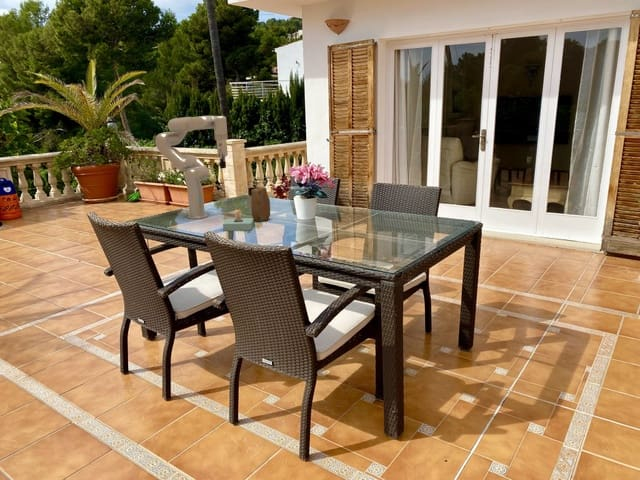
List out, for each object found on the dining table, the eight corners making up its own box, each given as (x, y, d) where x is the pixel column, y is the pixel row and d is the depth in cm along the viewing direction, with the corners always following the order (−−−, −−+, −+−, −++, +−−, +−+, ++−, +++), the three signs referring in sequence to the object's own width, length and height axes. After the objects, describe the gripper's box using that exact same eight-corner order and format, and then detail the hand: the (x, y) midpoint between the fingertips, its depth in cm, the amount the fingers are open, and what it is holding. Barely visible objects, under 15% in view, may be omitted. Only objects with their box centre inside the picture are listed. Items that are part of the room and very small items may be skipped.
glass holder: (252, 208, 340) (251, 186, 336) (271, 209, 335) (270, 187, 331) (246, 211, 332) (245, 188, 328) (265, 212, 327) (264, 189, 323)
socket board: (223, 231, 280) (222, 224, 279) (226, 225, 293) (226, 218, 292) (251, 230, 280) (251, 223, 279) (253, 224, 294) (253, 217, 293)
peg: (235, 228, 285) (234, 211, 282) (236, 227, 288) (234, 210, 286) (241, 228, 285) (240, 211, 282) (242, 226, 289) (241, 210, 286)
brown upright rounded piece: (258, 222, 298) (256, 189, 293) (250, 220, 303) (249, 188, 298) (272, 219, 306) (270, 187, 300) (264, 217, 311) (263, 186, 305)
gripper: (225, 138, 287) (227, 169, 292) (229, 136, 301) (230, 166, 306) (212, 138, 287) (215, 169, 292) (216, 136, 301) (218, 166, 306)
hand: (223, 168), depth 299 cm, fingers closed
